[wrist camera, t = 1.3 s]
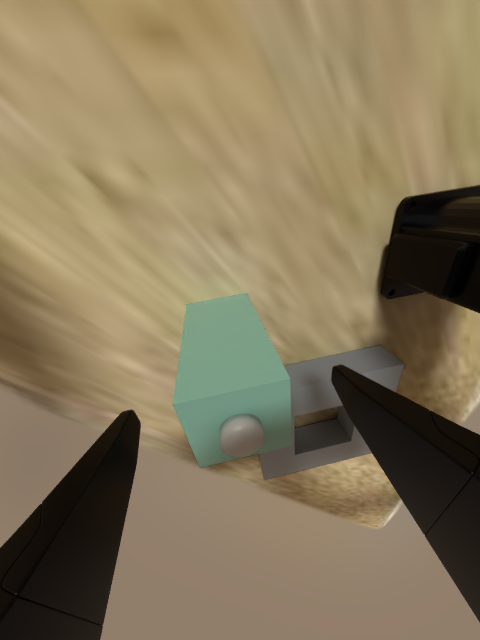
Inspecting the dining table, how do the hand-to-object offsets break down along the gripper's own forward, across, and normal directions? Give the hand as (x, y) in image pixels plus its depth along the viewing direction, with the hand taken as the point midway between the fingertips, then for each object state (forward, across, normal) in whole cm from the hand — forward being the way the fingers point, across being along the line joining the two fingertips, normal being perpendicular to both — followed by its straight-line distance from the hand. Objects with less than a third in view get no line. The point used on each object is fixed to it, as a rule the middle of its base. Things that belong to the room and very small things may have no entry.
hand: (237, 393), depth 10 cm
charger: (+6, 0, 0) cm, 6 cm away
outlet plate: (+6, -7, +11) cm, 14 cm away
